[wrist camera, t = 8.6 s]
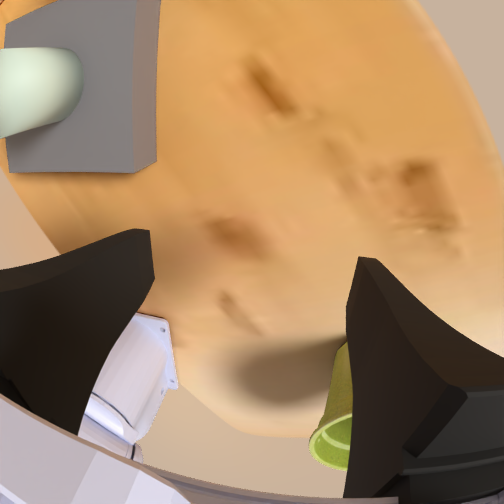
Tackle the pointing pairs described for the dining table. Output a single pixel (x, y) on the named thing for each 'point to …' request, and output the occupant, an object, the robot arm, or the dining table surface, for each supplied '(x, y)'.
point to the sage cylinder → (37, 87)
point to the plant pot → (335, 417)
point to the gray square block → (94, 87)
